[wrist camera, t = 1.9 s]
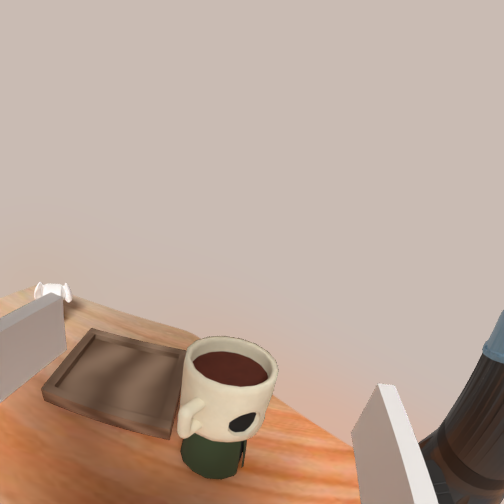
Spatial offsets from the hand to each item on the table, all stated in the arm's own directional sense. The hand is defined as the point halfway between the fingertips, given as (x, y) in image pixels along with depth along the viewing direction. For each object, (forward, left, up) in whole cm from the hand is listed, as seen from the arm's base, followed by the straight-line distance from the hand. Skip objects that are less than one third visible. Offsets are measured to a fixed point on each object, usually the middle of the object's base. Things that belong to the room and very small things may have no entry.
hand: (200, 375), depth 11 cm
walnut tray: (+10, -19, -19) cm, 28 cm away
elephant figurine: (+26, -29, -19) cm, 43 cm away
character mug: (-2, -10, -19) cm, 21 cm away
